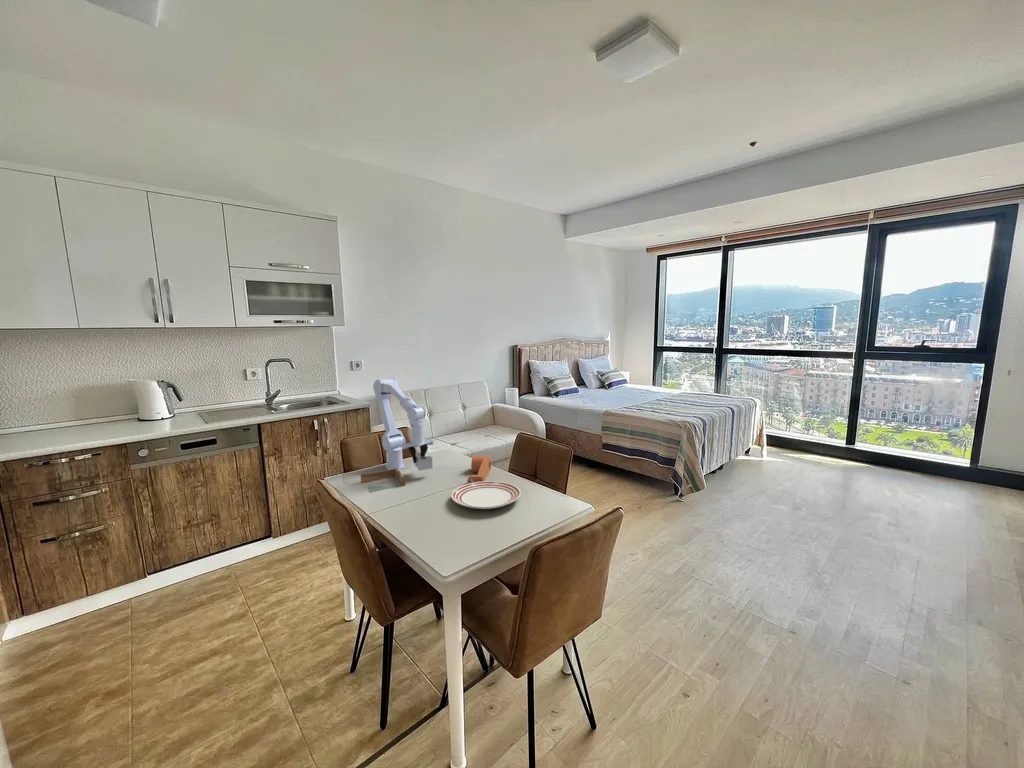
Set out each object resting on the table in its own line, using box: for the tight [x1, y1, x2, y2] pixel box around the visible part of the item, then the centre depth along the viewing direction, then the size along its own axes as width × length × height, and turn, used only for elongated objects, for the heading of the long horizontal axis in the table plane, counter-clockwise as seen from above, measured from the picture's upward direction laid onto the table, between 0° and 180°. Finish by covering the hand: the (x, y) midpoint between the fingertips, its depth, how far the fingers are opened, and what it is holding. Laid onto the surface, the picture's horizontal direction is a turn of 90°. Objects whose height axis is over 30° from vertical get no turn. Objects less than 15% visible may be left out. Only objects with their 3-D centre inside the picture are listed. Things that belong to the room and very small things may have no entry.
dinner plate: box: [450, 480, 522, 510], centre depth 157 cm, size 27×27×3 cm
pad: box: [367, 484, 402, 493], centre depth 172 cm, size 8×13×1 cm, turn 120°
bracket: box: [412, 451, 433, 472], centre depth 183 cm, size 10×6×5 cm, turn 30°
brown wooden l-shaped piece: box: [360, 468, 406, 487], centre depth 174 cm, size 14×16×4 cm
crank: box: [467, 455, 492, 484], centre depth 182 cm, size 20×8×8 cm, turn 172°
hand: (418, 461), depth 184 cm, fingers closed on bracket, 3 cm apart
